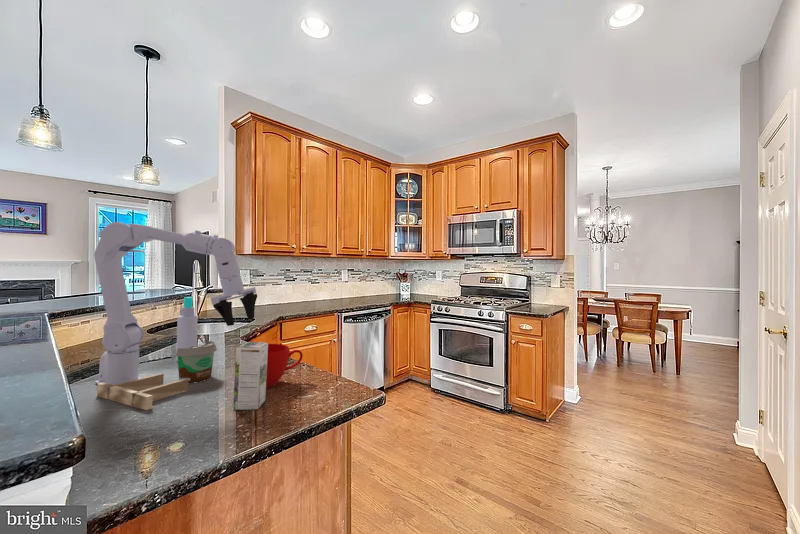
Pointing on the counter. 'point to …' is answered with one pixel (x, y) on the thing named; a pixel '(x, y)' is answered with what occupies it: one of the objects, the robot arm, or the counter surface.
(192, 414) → the counter surface
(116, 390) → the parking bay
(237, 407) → the syrup box
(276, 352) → the ceramic cup
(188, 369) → the food container
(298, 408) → the counter surface
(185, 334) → the spray bottle
